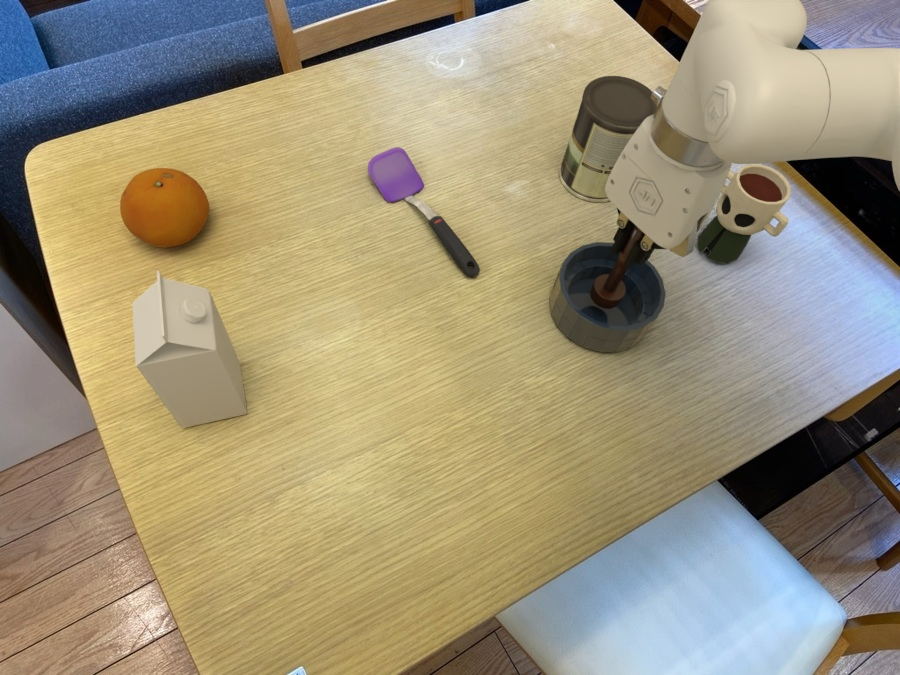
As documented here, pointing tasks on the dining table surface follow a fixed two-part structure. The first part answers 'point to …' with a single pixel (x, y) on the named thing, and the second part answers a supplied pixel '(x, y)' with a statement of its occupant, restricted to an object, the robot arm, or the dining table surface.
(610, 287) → the brown wooden pestle
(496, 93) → the dining table surface
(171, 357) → the milk carton
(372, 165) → the spatula
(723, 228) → the character mug
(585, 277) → the bowl
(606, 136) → the coffee can
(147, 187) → the fruit
